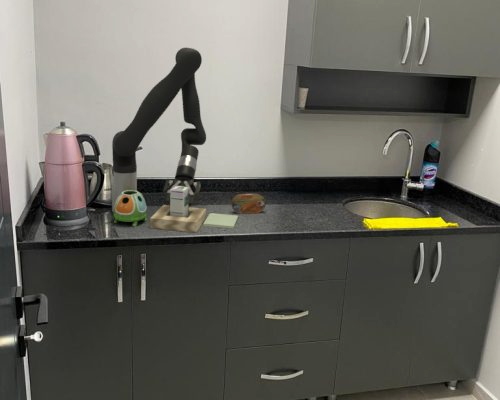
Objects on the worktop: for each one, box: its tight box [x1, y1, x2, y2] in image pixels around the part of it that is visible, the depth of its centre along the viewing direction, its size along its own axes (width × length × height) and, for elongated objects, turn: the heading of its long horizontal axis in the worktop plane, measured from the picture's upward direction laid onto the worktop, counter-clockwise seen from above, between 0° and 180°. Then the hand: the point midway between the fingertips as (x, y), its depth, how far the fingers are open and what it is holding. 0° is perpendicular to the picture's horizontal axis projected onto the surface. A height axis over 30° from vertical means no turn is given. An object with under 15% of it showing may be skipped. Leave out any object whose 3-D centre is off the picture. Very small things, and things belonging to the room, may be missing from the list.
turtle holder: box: [113, 190, 148, 227], centre depth 199 cm, size 12×18×12 cm
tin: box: [230, 193, 267, 215], centre depth 217 cm, size 15×3×8 cm, turn 105°
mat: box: [202, 212, 239, 230], centre depth 204 cm, size 12×14×1 cm
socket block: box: [149, 204, 207, 233], centre depth 199 cm, size 18×18×4 cm
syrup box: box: [169, 186, 190, 218], centre depth 198 cm, size 6×6×14 cm
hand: (178, 204), depth 196 cm, fingers open, 8 cm apart
